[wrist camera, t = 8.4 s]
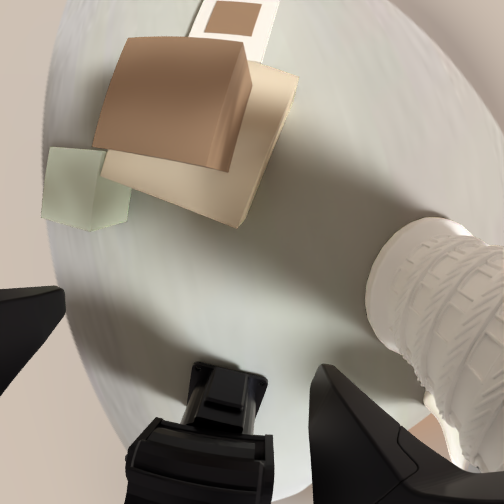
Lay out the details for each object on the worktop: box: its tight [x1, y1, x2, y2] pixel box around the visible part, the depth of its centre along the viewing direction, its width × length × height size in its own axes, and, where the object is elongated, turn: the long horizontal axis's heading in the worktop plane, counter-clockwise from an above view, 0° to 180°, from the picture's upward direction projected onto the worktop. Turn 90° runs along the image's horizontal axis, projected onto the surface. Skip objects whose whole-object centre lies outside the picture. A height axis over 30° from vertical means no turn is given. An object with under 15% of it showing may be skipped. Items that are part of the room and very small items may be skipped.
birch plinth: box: [100, 60, 299, 229], centre depth 16 cm, size 9×9×5 cm
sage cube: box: [41, 147, 132, 232], centre depth 17 cm, size 5×5×5 cm
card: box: [188, 0, 280, 64], centre depth 15 cm, size 8×6×1 cm
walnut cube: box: [92, 37, 253, 173], centre depth 11 cm, size 5×5×5 cm
